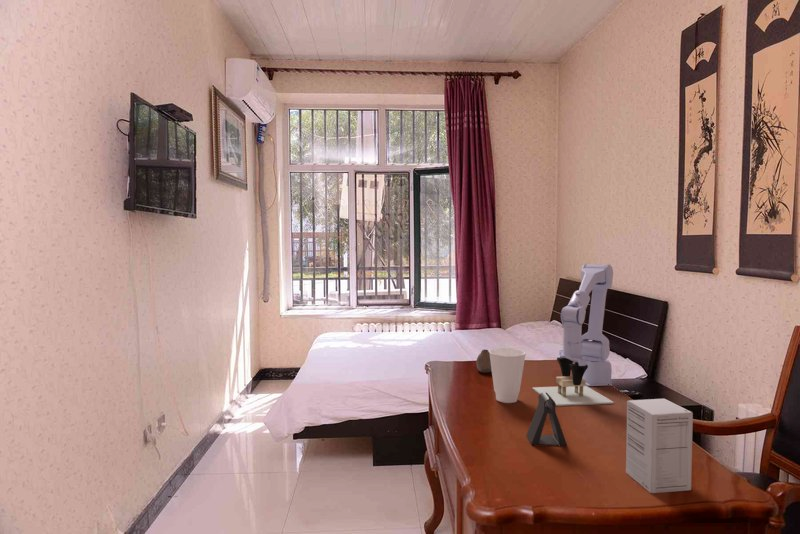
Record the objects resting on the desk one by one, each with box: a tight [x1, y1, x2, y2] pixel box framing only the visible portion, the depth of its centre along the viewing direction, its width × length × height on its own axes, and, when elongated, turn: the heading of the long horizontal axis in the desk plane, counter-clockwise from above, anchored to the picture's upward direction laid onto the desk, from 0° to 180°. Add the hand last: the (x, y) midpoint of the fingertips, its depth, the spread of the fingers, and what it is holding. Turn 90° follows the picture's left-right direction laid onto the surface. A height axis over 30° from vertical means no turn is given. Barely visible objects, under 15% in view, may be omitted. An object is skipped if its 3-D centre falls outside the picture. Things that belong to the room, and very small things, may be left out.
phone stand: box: [526, 392, 568, 447], centre depth 124 cm, size 9×6×12 cm, turn 86°
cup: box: [488, 347, 527, 404], centre depth 156 cm, size 12×12×16 cm
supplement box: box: [625, 398, 694, 494], centre depth 103 cm, size 10×9×17 cm
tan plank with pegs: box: [555, 375, 586, 397], centre depth 160 cm, size 5×8×6 cm, turn 96°
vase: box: [475, 349, 492, 374], centre depth 191 cm, size 7×7×9 cm
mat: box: [531, 385, 615, 407], centre depth 161 cm, size 20×18×1 cm
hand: (571, 381), depth 160 cm, fingers open, 7 cm apart
